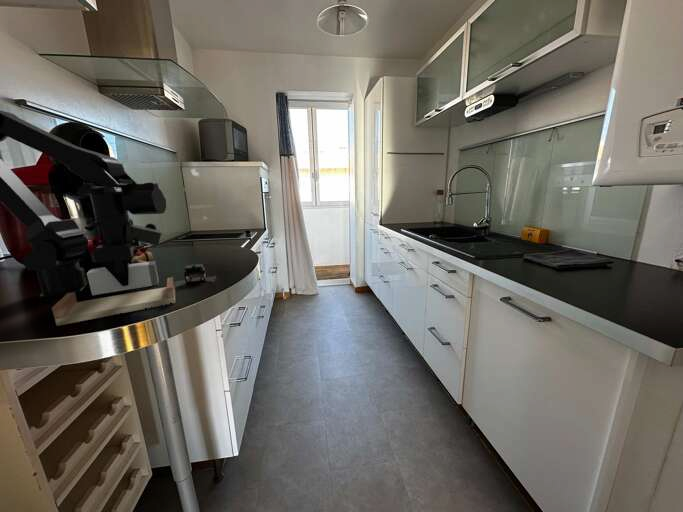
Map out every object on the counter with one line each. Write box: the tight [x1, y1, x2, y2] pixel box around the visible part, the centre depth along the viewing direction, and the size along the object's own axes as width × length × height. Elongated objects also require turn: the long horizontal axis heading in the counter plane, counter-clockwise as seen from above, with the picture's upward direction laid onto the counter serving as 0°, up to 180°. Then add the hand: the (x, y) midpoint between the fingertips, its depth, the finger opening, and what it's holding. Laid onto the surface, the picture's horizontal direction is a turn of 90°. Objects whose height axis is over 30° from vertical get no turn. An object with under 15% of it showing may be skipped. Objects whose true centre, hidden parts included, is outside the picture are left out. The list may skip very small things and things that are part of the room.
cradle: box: [51, 276, 176, 327], centre depth 53 cm, size 17×8×3 cm, turn 121°
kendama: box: [132, 247, 159, 274], centre depth 78 cm, size 8×6×18 cm
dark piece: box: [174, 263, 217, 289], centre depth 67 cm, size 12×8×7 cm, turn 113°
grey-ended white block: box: [86, 260, 160, 296], centre depth 63 cm, size 12×4×5 cm, turn 121°
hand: (126, 283), depth 64 cm, fingers closed on grey-ended white block, 4 cm apart
